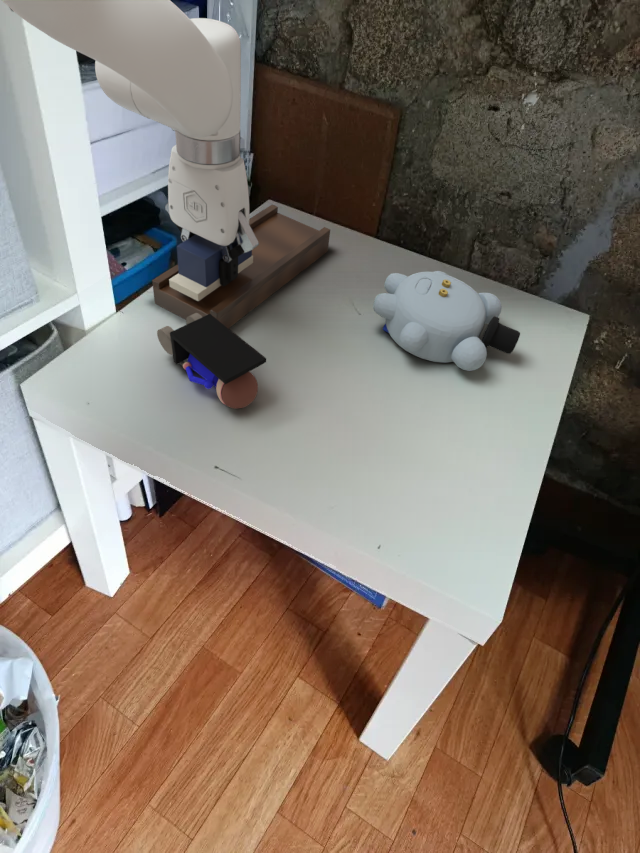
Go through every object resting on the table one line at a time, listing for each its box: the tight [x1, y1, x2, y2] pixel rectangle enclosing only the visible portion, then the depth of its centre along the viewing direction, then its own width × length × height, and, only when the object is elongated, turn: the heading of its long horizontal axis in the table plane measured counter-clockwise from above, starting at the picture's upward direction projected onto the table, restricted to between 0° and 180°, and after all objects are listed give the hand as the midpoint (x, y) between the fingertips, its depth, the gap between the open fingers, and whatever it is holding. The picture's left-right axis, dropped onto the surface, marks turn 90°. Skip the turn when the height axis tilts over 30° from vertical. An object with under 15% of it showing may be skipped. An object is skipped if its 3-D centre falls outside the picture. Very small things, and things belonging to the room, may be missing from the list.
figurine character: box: [156, 313, 267, 410], centre depth 79 cm, size 7×8×15 cm
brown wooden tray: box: [151, 204, 331, 329], centre depth 96 cm, size 28×11×4 cm, turn 147°
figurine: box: [372, 270, 521, 372], centre depth 89 cm, size 17×8×20 cm
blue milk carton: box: [169, 233, 253, 301], centre depth 87 cm, size 12×5×6 cm, turn 147°
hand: (212, 272), depth 89 cm, fingers closed on blue milk carton, 5 cm apart
